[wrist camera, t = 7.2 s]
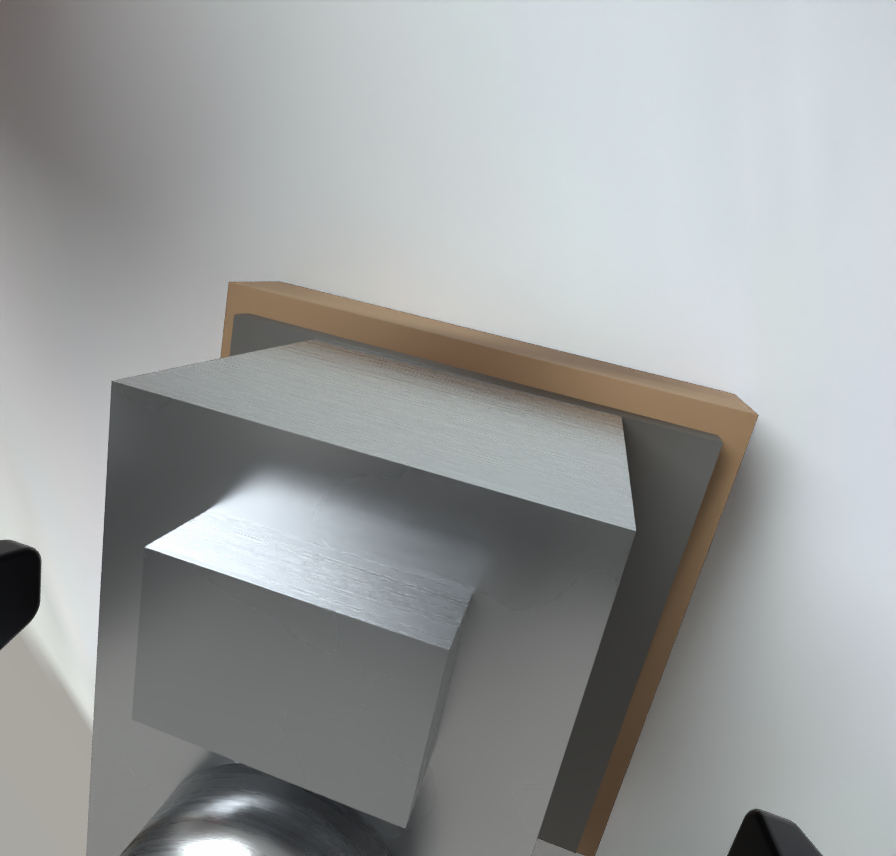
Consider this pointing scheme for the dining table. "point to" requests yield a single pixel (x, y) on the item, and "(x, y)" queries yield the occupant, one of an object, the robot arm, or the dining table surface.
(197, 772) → the housing
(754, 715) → the dining table surface
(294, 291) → the stand
